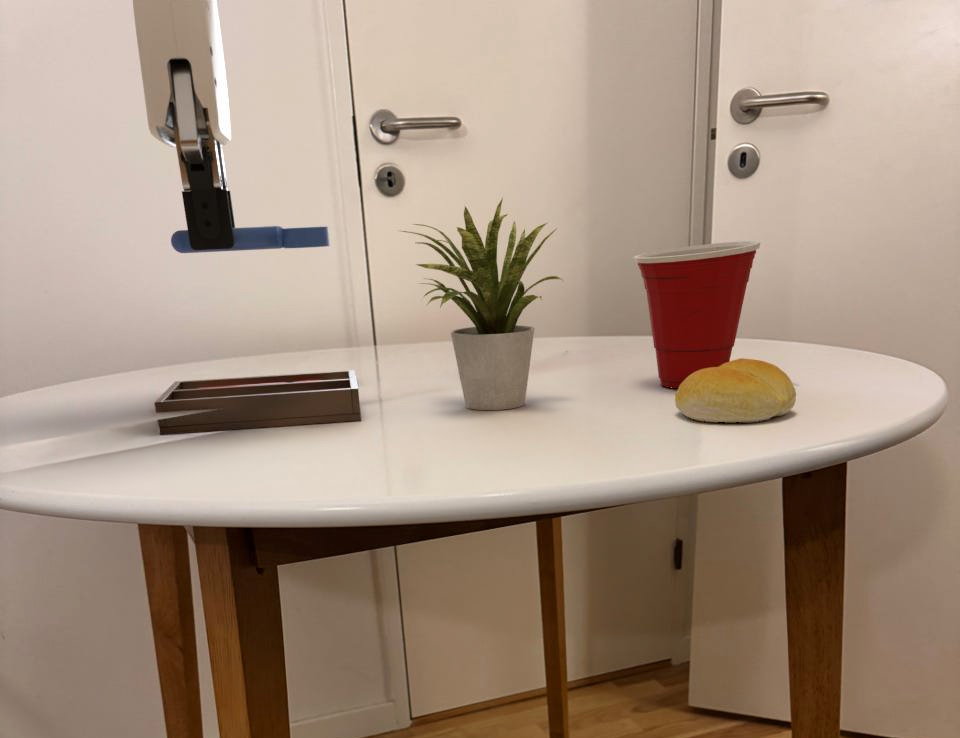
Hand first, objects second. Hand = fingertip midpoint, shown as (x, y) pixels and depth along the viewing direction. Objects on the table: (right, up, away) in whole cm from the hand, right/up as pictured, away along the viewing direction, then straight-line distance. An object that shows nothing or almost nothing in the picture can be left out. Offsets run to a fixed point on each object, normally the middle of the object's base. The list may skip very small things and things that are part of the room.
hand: (214, 247), depth 71 cm
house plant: (+21, -9, +11) cm, 26 cm away
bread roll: (+40, -12, +2) cm, 42 cm away
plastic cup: (+40, -7, +15) cm, 43 cm away
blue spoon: (+3, 0, +1) cm, 3 cm away
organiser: (+2, -10, +10) cm, 15 cm away
